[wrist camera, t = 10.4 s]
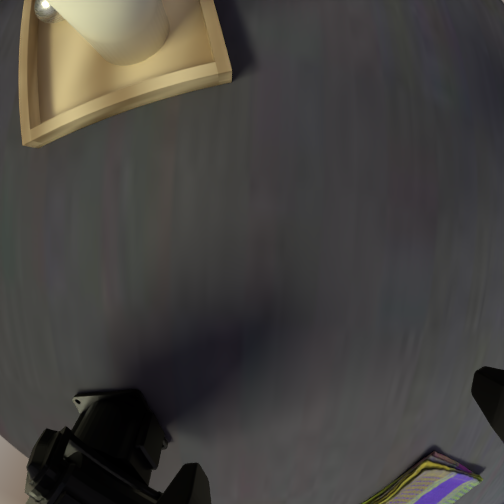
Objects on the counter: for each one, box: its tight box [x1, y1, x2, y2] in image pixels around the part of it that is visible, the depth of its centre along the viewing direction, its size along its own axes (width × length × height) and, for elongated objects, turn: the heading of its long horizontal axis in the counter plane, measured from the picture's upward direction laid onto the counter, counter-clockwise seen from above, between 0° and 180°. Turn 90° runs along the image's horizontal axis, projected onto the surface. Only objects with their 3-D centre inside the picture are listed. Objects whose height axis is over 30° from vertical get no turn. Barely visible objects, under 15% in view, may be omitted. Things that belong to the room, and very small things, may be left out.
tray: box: [19, 0, 232, 148], centre depth 15 cm, size 14×14×2 cm
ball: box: [34, 0, 65, 23], centre depth 13 cm, size 4×4×4 cm
